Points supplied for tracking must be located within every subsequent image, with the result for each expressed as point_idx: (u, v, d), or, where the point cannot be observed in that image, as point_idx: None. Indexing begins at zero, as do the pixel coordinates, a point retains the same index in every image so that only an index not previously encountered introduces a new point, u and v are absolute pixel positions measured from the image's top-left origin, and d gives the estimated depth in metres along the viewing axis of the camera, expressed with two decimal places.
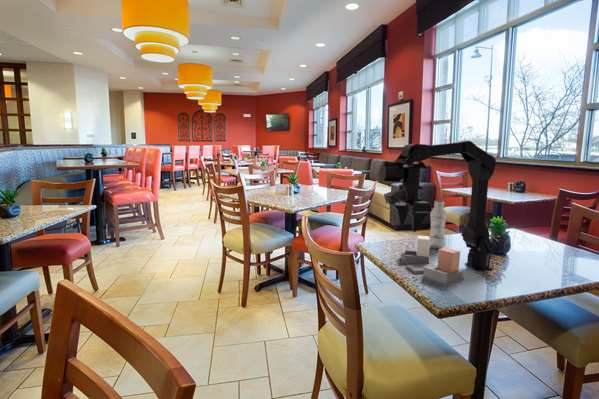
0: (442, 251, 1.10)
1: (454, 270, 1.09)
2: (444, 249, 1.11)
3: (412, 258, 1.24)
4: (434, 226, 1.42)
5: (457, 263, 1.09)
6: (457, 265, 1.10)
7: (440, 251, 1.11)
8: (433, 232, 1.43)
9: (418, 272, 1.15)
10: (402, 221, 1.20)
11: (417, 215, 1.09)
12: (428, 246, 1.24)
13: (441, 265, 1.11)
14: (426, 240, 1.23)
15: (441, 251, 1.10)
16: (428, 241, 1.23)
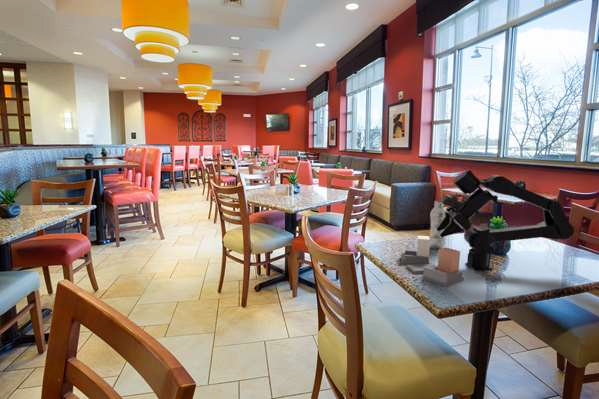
0: (442, 251, 1.10)
1: (454, 270, 1.09)
2: (444, 249, 1.11)
3: (412, 258, 1.24)
4: (434, 226, 1.42)
5: (457, 263, 1.09)
6: (457, 265, 1.10)
7: (440, 251, 1.11)
8: (433, 232, 1.43)
9: (418, 272, 1.15)
10: (440, 228, 1.28)
11: (454, 226, 1.17)
12: (428, 246, 1.24)
13: (441, 265, 1.11)
14: (426, 240, 1.23)
15: (441, 251, 1.10)
16: (428, 241, 1.23)
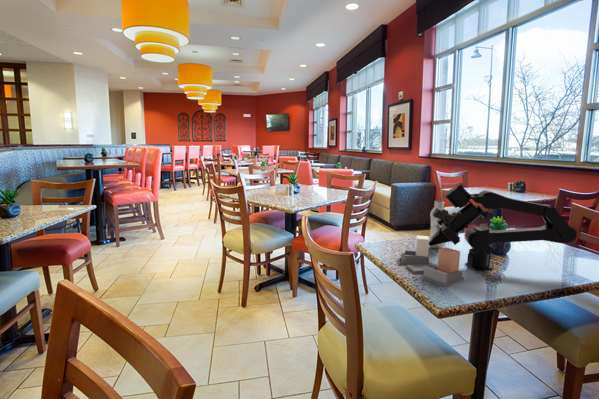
0: (442, 251, 1.10)
1: (454, 270, 1.09)
2: (444, 249, 1.11)
3: (412, 258, 1.24)
4: (434, 226, 1.42)
5: (457, 263, 1.09)
6: (457, 265, 1.10)
7: (440, 251, 1.11)
8: (433, 232, 1.43)
9: (418, 272, 1.15)
10: None
11: (441, 236, 1.23)
12: (427, 246, 1.24)
13: (441, 265, 1.11)
14: (425, 240, 1.24)
15: (441, 251, 1.10)
16: (427, 241, 1.23)
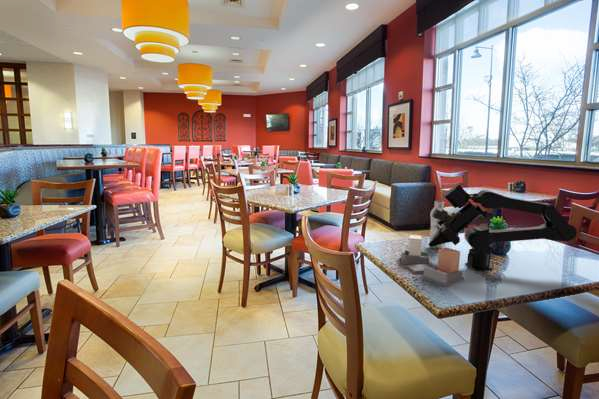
0: (442, 251, 1.10)
1: (454, 270, 1.09)
2: (444, 249, 1.11)
3: (412, 258, 1.24)
4: (434, 226, 1.42)
5: (457, 263, 1.09)
6: (457, 265, 1.10)
7: (440, 251, 1.11)
8: (433, 232, 1.43)
9: (418, 272, 1.15)
10: None
11: (441, 237, 1.23)
12: (420, 245, 1.24)
13: (441, 265, 1.11)
14: (418, 239, 1.24)
15: (441, 251, 1.10)
16: (420, 240, 1.24)
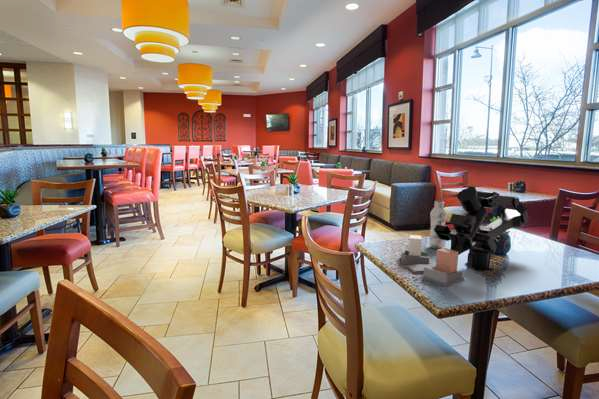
0: (440, 252, 1.10)
1: (452, 271, 1.08)
2: (442, 249, 1.11)
3: (412, 258, 1.24)
4: (434, 226, 1.42)
5: (455, 264, 1.09)
6: (455, 266, 1.09)
7: (438, 251, 1.10)
8: (433, 232, 1.43)
9: (418, 272, 1.15)
10: None
11: (462, 245, 1.12)
12: (420, 245, 1.24)
13: (440, 266, 1.10)
14: (418, 239, 1.24)
15: (439, 251, 1.10)
16: (420, 240, 1.24)
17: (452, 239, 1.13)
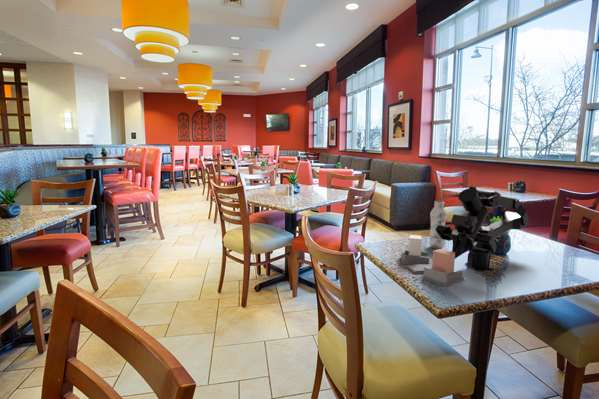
0: (437, 253, 1.09)
1: (449, 272, 1.07)
2: (439, 250, 1.10)
3: (412, 258, 1.24)
4: (434, 226, 1.42)
5: (452, 265, 1.08)
6: (452, 267, 1.08)
7: (435, 252, 1.09)
8: (433, 232, 1.43)
9: (418, 272, 1.15)
10: (455, 254, 1.13)
11: (464, 245, 1.13)
12: (420, 245, 1.24)
13: (436, 267, 1.09)
14: (418, 239, 1.24)
15: (436, 252, 1.09)
16: (420, 240, 1.24)
17: (454, 239, 1.14)
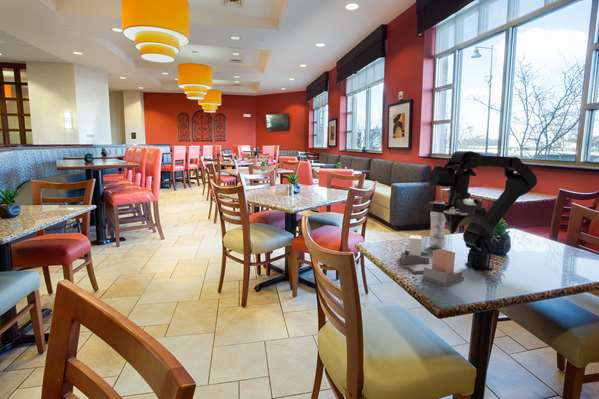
0: (437, 253, 1.09)
1: (449, 272, 1.07)
2: (439, 250, 1.10)
3: (412, 258, 1.24)
4: (434, 226, 1.42)
5: (452, 265, 1.08)
6: (452, 267, 1.08)
7: (435, 252, 1.09)
8: (433, 232, 1.43)
9: (418, 272, 1.15)
10: None
11: None
12: (420, 245, 1.24)
13: (436, 267, 1.09)
14: (418, 239, 1.24)
15: (436, 252, 1.09)
16: (420, 240, 1.24)
17: (452, 218, 1.15)
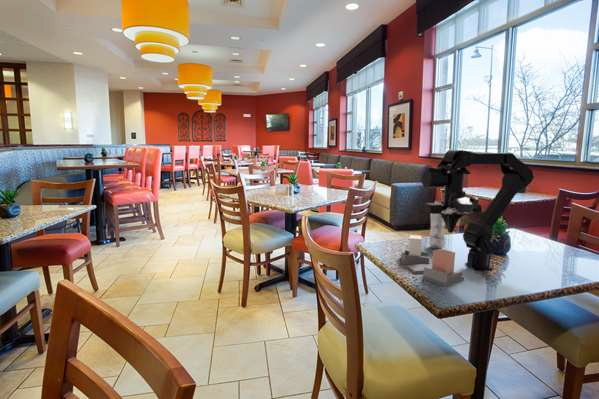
0: (437, 253, 1.09)
1: (449, 272, 1.07)
2: (439, 250, 1.10)
3: (412, 258, 1.24)
4: (434, 226, 1.42)
5: (452, 265, 1.08)
6: (452, 267, 1.08)
7: (435, 252, 1.09)
8: (433, 232, 1.43)
9: (418, 272, 1.15)
10: None
11: None
12: (420, 245, 1.24)
13: (436, 267, 1.09)
14: (418, 239, 1.24)
15: (436, 252, 1.09)
16: (420, 240, 1.24)
17: (450, 217, 1.16)
